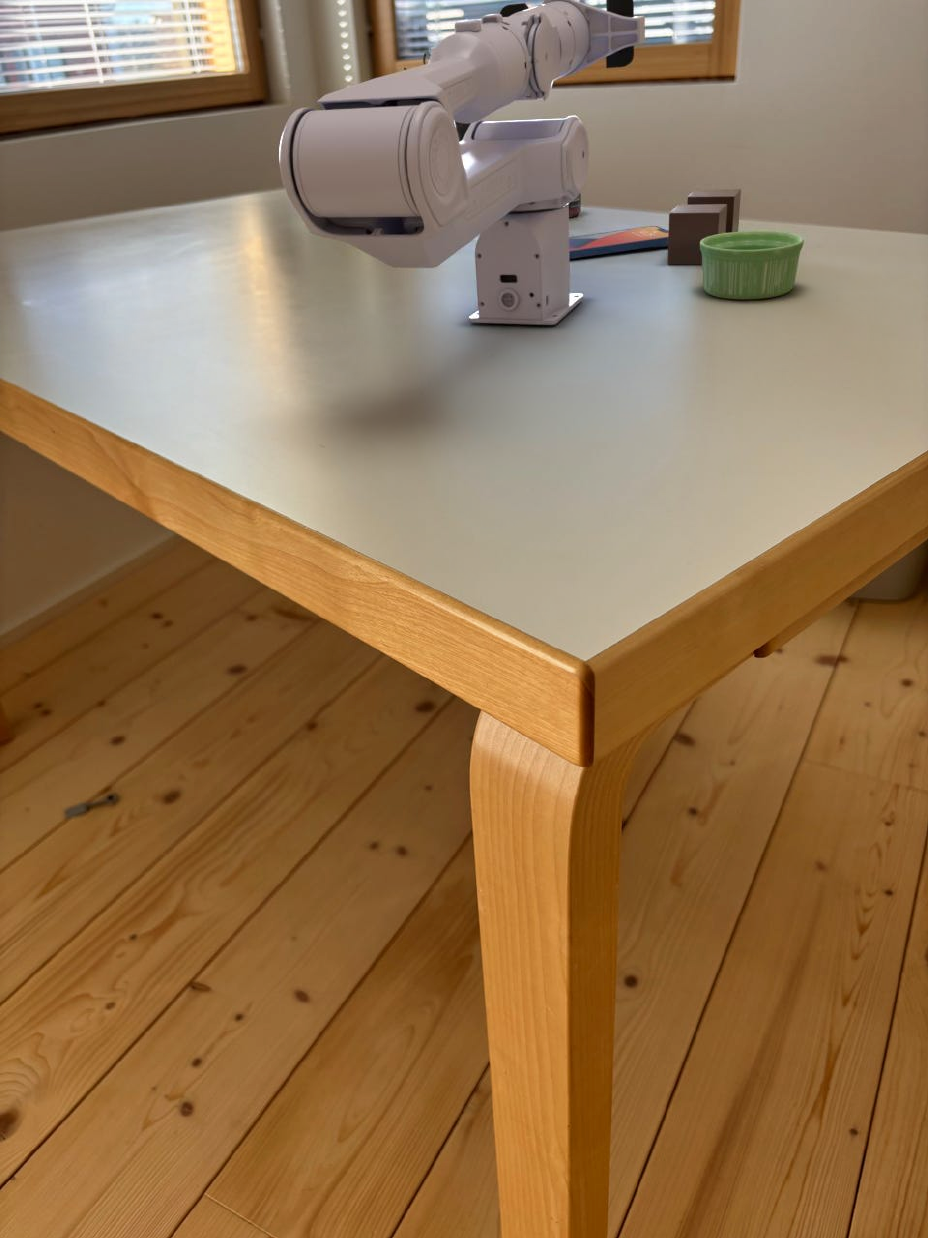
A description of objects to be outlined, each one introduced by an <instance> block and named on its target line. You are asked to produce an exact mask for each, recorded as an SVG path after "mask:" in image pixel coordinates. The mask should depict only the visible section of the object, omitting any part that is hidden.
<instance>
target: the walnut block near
mask: <svg viewBox="0 0 928 1238" xmlns="http://www.w3.org/2000/svg"><path fill="white" fill-rule="evenodd" d="M726 215H727V204H704V205H687V204H678V205H677V206H676V207H675V208H673V209H672V210H671V211H670V212H669V213H668V230H669V231H668V246H667V259H666V261H667V265H671V266H673V265H682V266H683V265H685V266H687V265H688V266H691V265H693V266H695V265H696V266H700V265H701V266H702V252H701V250H700V241H701V240H702V239H704V238H706V237H709V236H712V235H717V234H722V233H725V231H726Z"/></svg>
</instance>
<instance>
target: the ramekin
mask: <svg viewBox="0 0 928 1238" xmlns="http://www.w3.org/2000/svg"><path fill="white" fill-rule="evenodd" d="M804 244H805V240H804V237H802V236H801V235H799V234H795V233H792V232H785V231H776V230H746V231H745V230H743V231H738V232H730V233H722V234H717V235H712V236H709V237H706V238H704V239H702V240H701V241H700V250H701V252H702V265H701V267H702V269H701V270H702V288H703V290H704V292H705V293H707V294H708V295H710V296H713V297H717V298H721V299H728V300H761V299H769V298H775V297H779V296H783V295H785V294H787V293H789V292H791V290H793V289H794V286H795V282H796V278H797V277H796V276H797V271H798V266H799V260H800V255H801V251H802V249H803V247H804Z"/></svg>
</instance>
